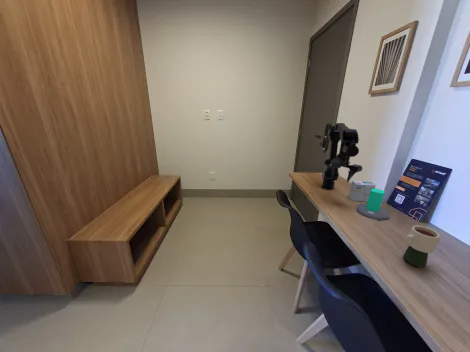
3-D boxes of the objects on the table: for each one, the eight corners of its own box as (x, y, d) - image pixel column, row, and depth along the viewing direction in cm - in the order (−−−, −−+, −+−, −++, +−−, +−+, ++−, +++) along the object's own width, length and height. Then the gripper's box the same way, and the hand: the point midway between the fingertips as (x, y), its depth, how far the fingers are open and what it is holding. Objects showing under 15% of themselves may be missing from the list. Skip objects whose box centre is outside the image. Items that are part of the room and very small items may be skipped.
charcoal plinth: (351, 210, 107) (352, 207, 106) (364, 204, 114) (364, 201, 114) (380, 222, 96) (381, 219, 95) (392, 215, 103) (393, 211, 103)
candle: (374, 206, 108) (380, 185, 104) (382, 212, 102) (388, 190, 98) (363, 206, 107) (368, 185, 103) (370, 212, 102) (376, 190, 98)
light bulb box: (365, 197, 123) (370, 181, 120) (371, 202, 117) (376, 185, 113) (347, 196, 124) (351, 180, 121) (352, 201, 118) (356, 184, 114)
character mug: (420, 255, 75) (432, 225, 71) (438, 270, 68) (452, 238, 64) (391, 254, 75) (401, 224, 71) (405, 269, 69) (417, 237, 64)
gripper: (320, 150, 112) (316, 177, 118) (354, 158, 98) (348, 187, 103) (332, 149, 118) (327, 174, 123) (365, 155, 104) (359, 183, 109)
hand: (339, 179), depth 114 cm, fingers open, 9 cm apart
